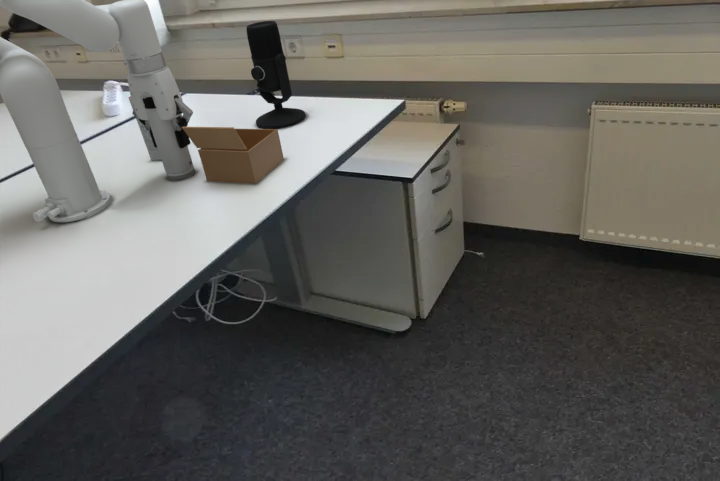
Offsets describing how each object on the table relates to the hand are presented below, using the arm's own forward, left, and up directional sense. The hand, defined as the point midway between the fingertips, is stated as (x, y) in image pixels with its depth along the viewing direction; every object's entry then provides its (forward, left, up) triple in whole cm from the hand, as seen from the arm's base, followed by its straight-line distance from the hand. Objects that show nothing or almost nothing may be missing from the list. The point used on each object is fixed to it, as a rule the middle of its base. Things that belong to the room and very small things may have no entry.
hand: (172, 144), depth 126 cm
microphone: (+35, -7, -8) cm, 36 cm away
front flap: (-4, -15, +3) cm, 16 cm away
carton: (+4, -15, -7) cm, 17 cm away
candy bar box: (+12, +13, -8) cm, 19 cm away
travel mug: (0, 0, -8) cm, 8 cm away
